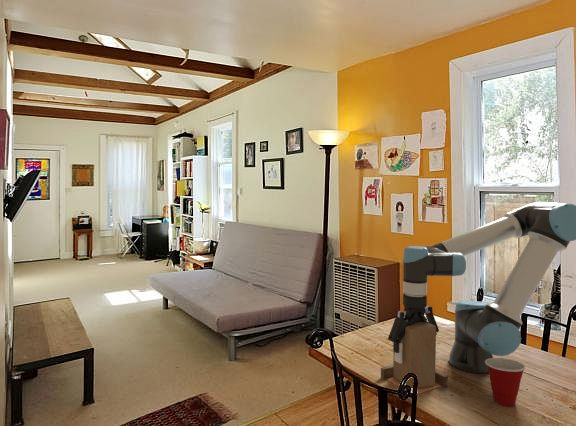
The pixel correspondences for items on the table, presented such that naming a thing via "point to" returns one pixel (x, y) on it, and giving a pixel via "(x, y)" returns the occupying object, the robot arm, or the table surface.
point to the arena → (439, 377)
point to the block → (418, 354)
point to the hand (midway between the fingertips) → (413, 357)
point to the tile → (418, 389)
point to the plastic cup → (505, 379)
